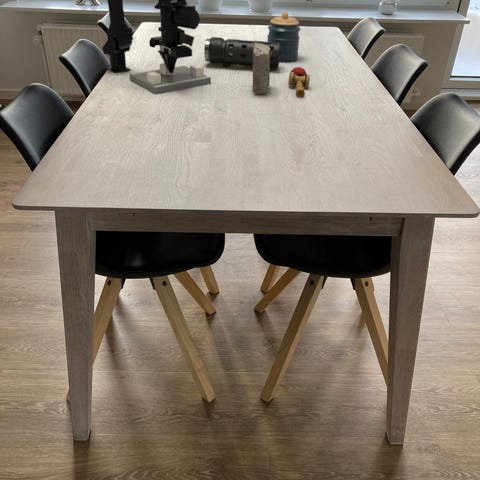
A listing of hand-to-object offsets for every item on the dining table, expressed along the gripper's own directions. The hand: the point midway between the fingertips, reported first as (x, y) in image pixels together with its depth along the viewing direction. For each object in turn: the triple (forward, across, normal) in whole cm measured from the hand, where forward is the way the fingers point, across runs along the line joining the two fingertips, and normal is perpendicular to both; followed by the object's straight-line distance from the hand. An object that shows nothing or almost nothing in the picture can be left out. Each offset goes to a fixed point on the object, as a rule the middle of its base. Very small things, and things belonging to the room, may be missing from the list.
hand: (171, 72), depth 179 cm
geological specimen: (+4, -23, -21) cm, 31 cm away
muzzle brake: (+4, +3, -33) cm, 33 cm away
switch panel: (+3, +1, 0) cm, 4 cm away
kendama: (+4, -29, -34) cm, 44 cm away
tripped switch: (+1, +3, 0) cm, 3 cm away
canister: (+4, +5, -55) cm, 55 cm away
